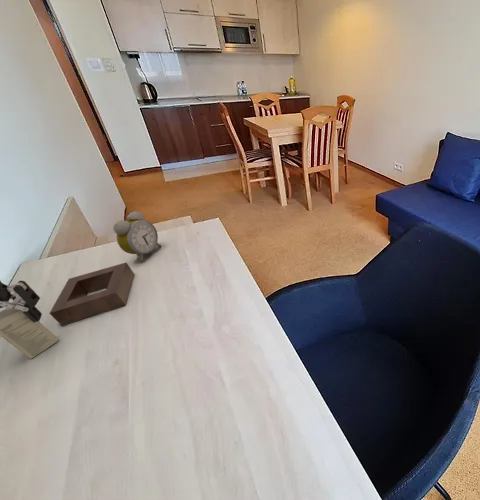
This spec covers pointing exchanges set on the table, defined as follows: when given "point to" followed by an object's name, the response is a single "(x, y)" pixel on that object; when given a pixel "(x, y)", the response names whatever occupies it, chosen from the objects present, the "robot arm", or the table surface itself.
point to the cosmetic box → (25, 332)
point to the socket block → (82, 306)
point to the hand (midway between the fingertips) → (18, 325)
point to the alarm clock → (136, 235)
